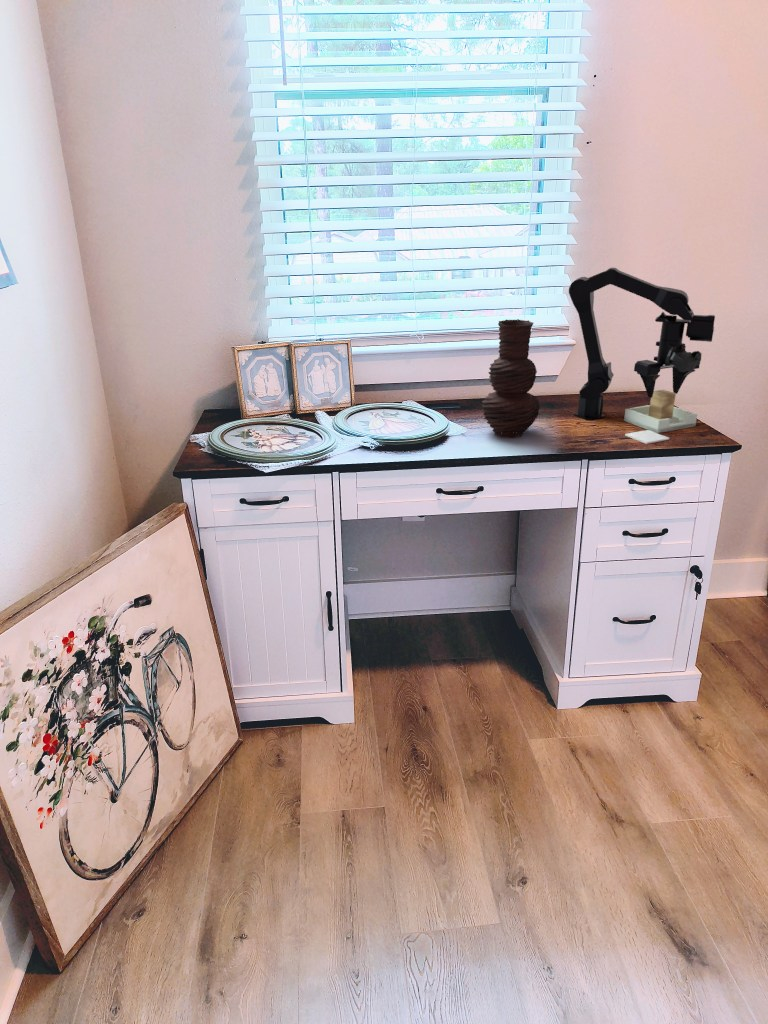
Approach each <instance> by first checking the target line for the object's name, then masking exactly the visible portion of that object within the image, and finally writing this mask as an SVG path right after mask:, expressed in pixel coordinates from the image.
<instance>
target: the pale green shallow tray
mask: <svg viewBox="0 0 768 1024" xmlns="http://www.w3.org/2000/svg"><path fill="white" fill-rule="evenodd" d="M649 408H650V404H649V405H648V404H647V405H642V406H635V407H630V408H625V410H624V418H623V421H624V422H627V423H629V424H631V425H635V426H637V427H638V428H639V427H640V428H641V429H645V430H650V431H652V432H655V433H657V434H660V433H666V432H673V431H676V430H683V429H688V428H693V427H696V425H697V417H698V414H697V413H695V412H692V411H689V410H686V409H683V408H679V407H677V406H674V409H673V416H672V418H666V419H660V420H659V419H656V418H654V417H651V416H648V415H649Z"/></svg>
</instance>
